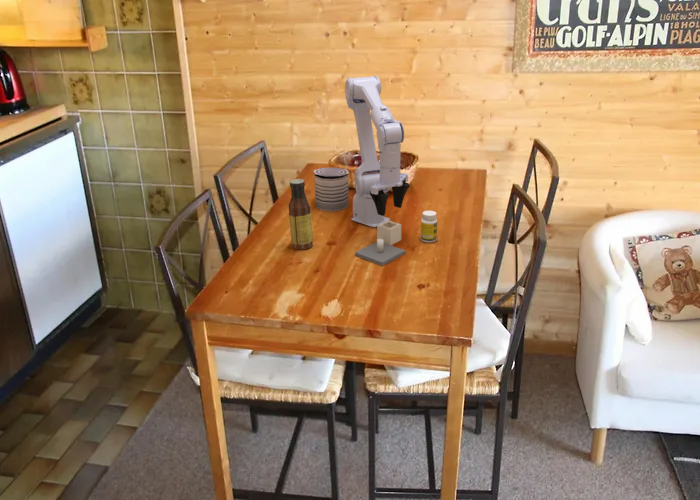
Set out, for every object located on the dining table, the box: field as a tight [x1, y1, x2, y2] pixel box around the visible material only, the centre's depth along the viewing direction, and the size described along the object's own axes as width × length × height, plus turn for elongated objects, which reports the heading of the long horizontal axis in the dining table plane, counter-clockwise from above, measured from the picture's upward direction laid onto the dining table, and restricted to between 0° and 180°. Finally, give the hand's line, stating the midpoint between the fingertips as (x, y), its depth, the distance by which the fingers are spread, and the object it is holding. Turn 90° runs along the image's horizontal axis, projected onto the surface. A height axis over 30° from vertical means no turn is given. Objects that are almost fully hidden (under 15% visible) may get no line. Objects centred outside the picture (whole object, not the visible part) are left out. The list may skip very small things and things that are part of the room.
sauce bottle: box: [288, 178, 314, 251], centre depth 201 cm, size 7×6×20 cm
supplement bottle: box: [419, 210, 438, 243], centre depth 206 cm, size 5×5×8 cm
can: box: [313, 167, 350, 212], centre depth 231 cm, size 11×11×12 cm
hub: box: [376, 220, 402, 246], centre depth 207 cm, size 5×5×5 cm
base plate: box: [354, 239, 406, 267], centre depth 199 cm, size 10×10×4 cm
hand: (389, 210), depth 204 cm, fingers open, 7 cm apart
